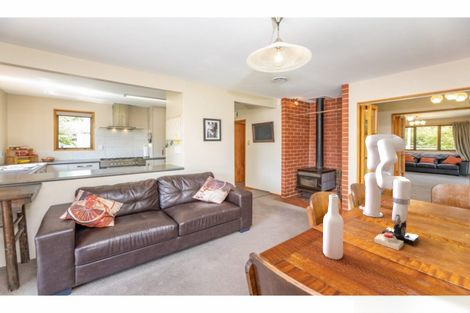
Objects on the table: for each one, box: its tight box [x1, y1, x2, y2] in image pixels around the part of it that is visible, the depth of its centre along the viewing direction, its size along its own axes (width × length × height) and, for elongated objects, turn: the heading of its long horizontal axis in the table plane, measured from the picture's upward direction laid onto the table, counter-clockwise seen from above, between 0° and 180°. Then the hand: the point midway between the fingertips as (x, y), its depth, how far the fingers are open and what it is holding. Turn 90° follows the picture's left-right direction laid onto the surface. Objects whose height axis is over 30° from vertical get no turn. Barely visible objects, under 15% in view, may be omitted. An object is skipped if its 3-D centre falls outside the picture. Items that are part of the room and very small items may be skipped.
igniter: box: [373, 233, 404, 251], centre depth 110 cm, size 11×8×4 cm
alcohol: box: [322, 193, 345, 260], centre depth 99 cm, size 9×9×30 cm
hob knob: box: [401, 227, 407, 235], centre depth 115 cm, size 5×1×4 cm, turn 37°
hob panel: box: [381, 226, 419, 247], centre depth 115 cm, size 14×10×3 cm
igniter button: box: [384, 233, 393, 238], centre depth 110 cm, size 4×4×2 cm
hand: (400, 231), depth 115 cm, fingers open, 8 cm apart
